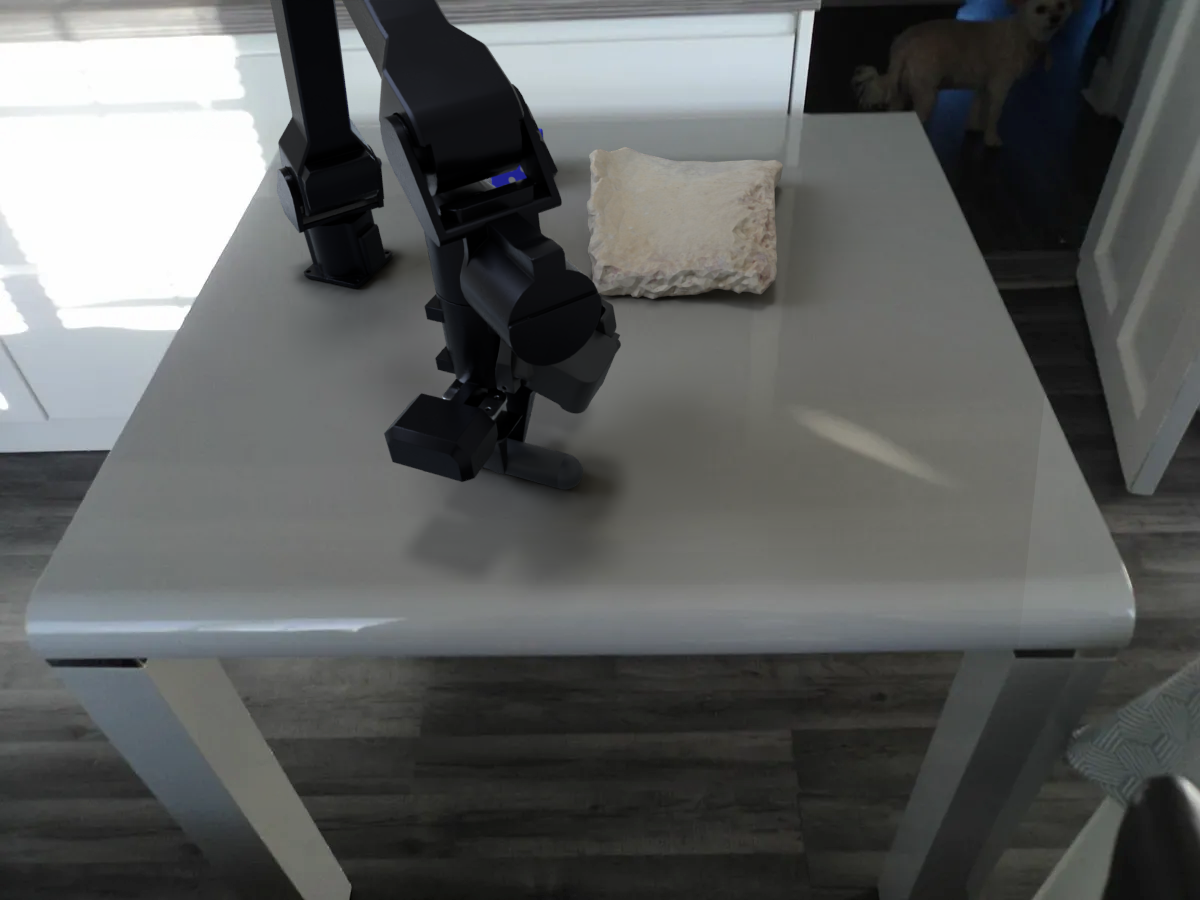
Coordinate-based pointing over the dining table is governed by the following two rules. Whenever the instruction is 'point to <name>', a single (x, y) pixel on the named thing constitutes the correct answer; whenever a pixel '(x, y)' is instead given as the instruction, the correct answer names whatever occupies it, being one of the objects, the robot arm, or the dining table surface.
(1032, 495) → the dining table surface
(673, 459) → the dining table surface
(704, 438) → the dining table surface
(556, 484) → the dark grey capsule
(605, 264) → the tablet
